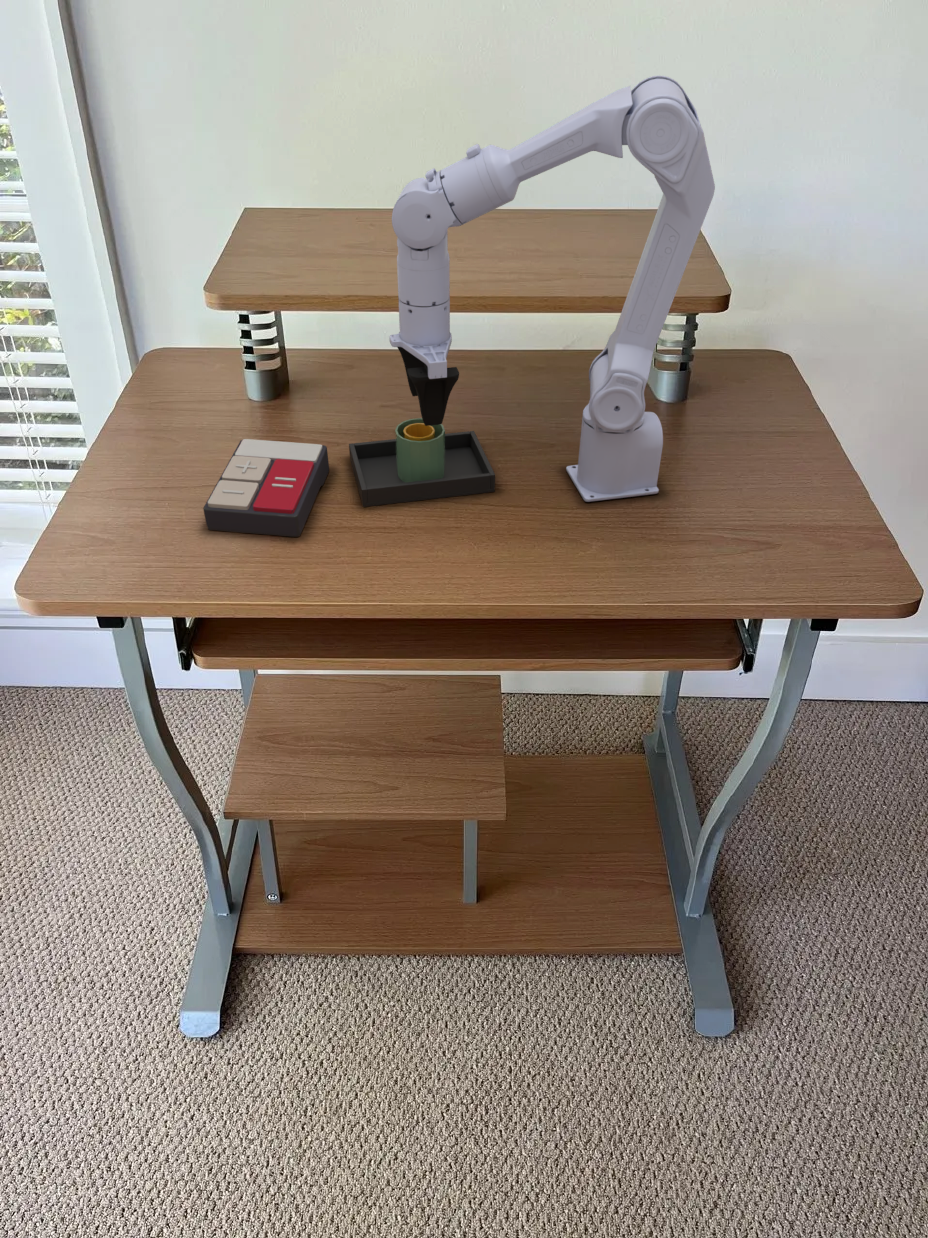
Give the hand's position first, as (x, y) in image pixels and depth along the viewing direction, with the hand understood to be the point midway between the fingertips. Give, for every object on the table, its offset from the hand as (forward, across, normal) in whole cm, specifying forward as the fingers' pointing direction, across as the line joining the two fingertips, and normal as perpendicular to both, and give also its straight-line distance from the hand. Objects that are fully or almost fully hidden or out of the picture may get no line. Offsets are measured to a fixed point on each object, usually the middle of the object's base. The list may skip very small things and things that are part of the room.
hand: (426, 408), depth 118 cm
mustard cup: (+8, +1, -1) cm, 8 cm away
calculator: (+9, +2, -20) cm, 22 cm away
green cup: (+8, +1, -1) cm, 8 cm away
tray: (+9, +1, -1) cm, 9 cm away
